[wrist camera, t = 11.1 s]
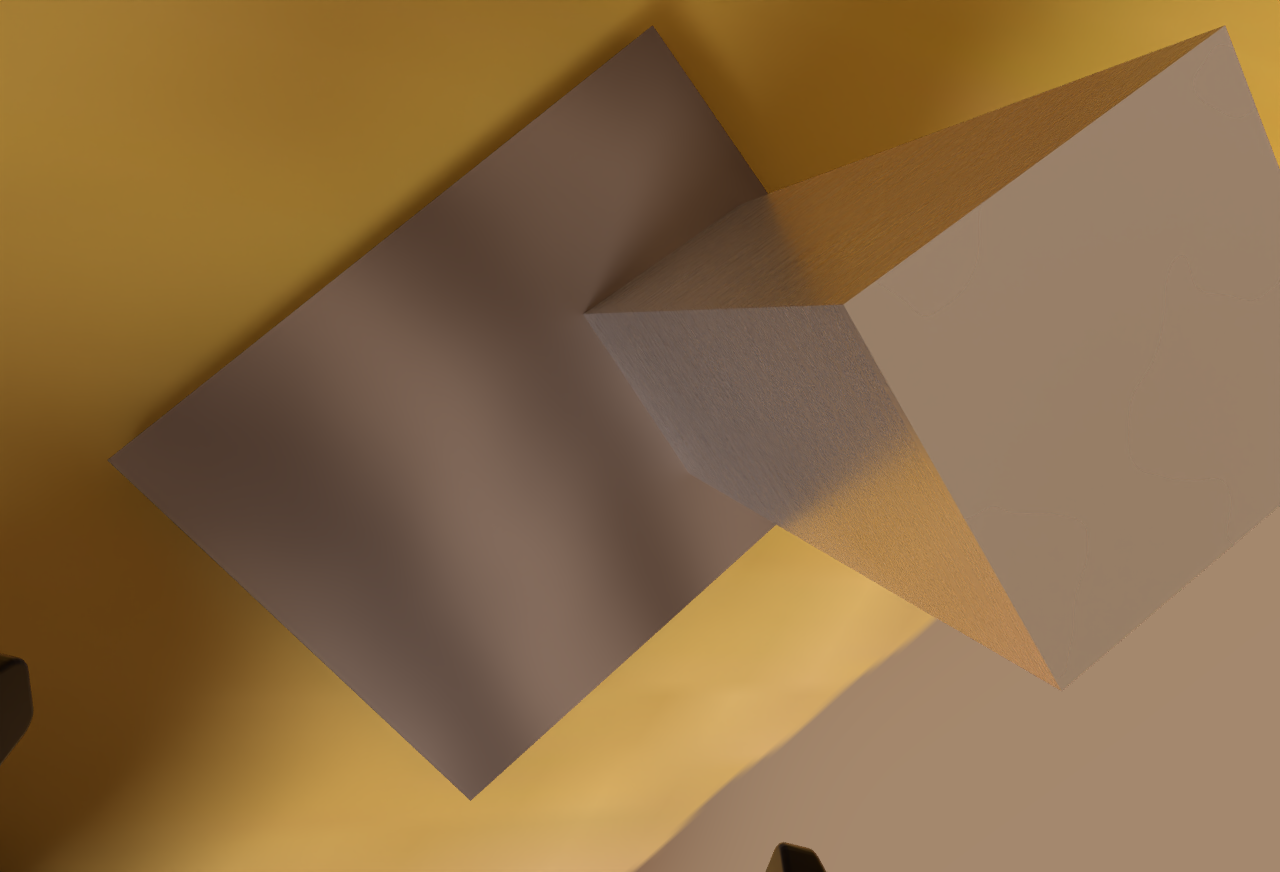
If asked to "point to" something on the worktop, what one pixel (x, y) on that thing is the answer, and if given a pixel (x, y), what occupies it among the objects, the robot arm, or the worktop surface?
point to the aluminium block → (996, 355)
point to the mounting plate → (475, 434)
